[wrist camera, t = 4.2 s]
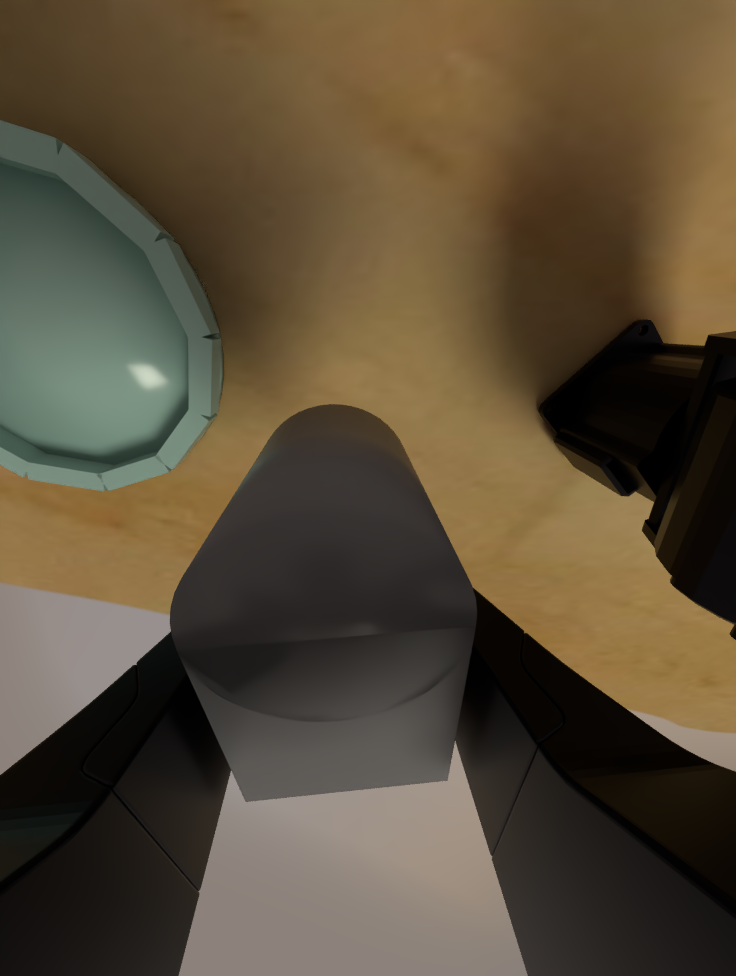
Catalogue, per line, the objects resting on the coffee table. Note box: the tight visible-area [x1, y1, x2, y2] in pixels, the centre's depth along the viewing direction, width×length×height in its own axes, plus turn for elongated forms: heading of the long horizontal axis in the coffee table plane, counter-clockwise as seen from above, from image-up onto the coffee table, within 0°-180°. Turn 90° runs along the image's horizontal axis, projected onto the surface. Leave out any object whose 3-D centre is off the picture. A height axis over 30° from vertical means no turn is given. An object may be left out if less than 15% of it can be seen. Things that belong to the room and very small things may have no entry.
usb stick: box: [170, 404, 477, 802], centre depth 8 cm, size 8×4×5 cm, turn 1°
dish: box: [0, 120, 224, 491], centre depth 15 cm, size 14×14×2 cm
